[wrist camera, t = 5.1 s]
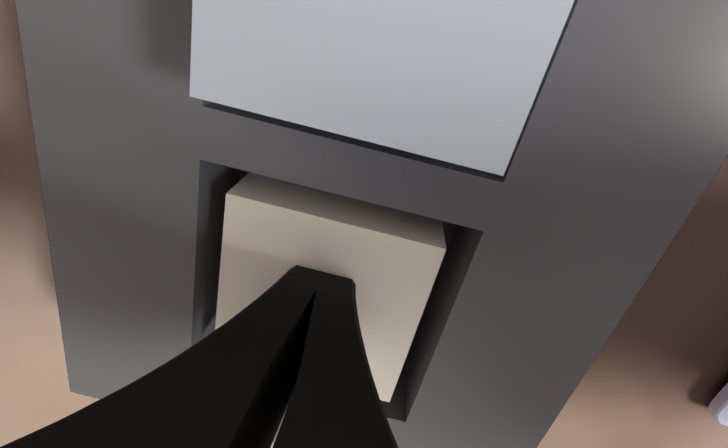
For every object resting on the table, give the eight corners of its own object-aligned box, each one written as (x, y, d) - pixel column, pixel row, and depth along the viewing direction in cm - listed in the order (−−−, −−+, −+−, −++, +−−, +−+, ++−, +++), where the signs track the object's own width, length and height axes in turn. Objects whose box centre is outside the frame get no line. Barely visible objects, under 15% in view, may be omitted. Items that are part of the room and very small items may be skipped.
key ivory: (439, 208, 10) (446, 249, 8) (393, 344, 12) (389, 402, 10) (260, 162, 10) (225, 193, 8) (243, 307, 12) (212, 358, 10)
